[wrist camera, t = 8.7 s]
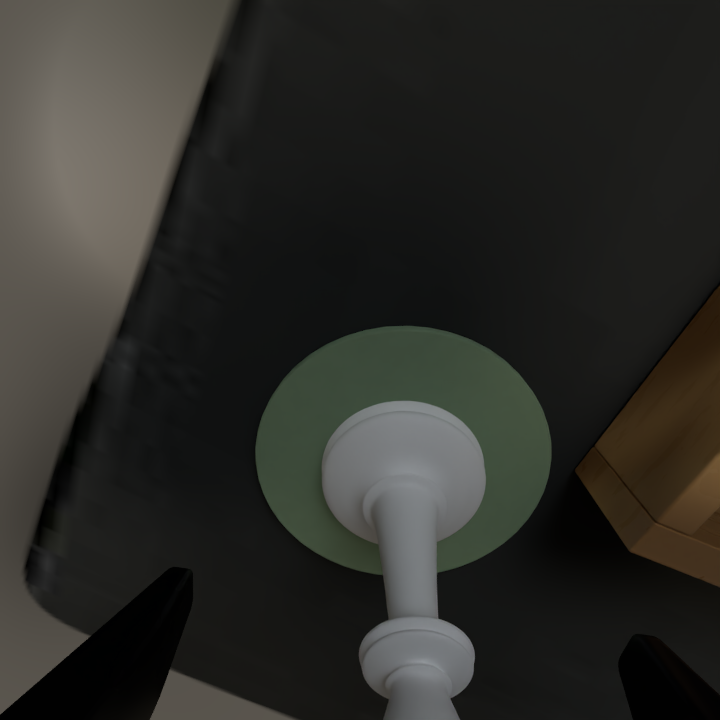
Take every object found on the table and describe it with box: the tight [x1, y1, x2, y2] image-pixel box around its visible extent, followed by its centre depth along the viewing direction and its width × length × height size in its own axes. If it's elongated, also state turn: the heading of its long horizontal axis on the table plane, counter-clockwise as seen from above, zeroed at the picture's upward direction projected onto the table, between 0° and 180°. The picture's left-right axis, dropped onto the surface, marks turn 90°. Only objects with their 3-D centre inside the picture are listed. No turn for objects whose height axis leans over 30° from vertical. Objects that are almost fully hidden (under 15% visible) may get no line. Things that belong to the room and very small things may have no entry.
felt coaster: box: [255, 326, 551, 575], centre depth 13 cm, size 9×9×1 cm
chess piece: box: [322, 401, 486, 720], centre depth 8 cm, size 5×5×10 cm
